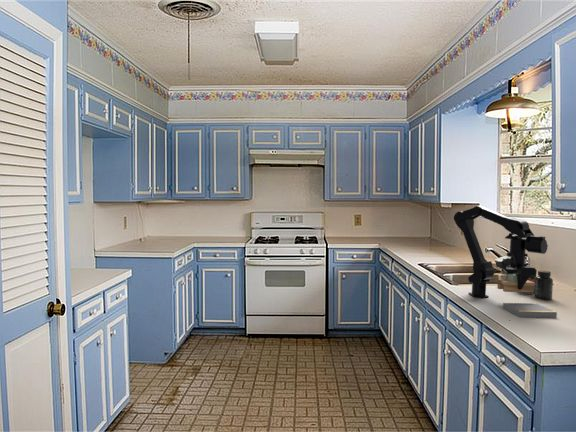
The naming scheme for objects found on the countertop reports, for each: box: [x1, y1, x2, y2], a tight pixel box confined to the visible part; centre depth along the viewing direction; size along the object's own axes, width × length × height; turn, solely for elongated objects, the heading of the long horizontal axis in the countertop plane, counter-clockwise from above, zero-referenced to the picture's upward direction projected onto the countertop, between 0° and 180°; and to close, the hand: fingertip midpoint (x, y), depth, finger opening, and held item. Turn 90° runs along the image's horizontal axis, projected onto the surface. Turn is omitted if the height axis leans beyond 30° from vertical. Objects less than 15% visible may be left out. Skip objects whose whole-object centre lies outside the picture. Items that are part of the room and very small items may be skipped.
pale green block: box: [506, 274, 518, 282], centre depth 176 cm, size 4×5×2 cm
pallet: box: [496, 278, 534, 293], centre depth 177 cm, size 6×12×4 cm, turn 91°
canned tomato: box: [517, 275, 537, 295], centre depth 198 cm, size 8×8×11 cm
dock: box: [502, 302, 558, 319], centre depth 165 cm, size 12×14×2 cm
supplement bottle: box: [534, 269, 554, 301], centre depth 188 cm, size 7×7×12 cm
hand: (515, 287), depth 177 cm, fingers closed on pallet, 6 cm apart
